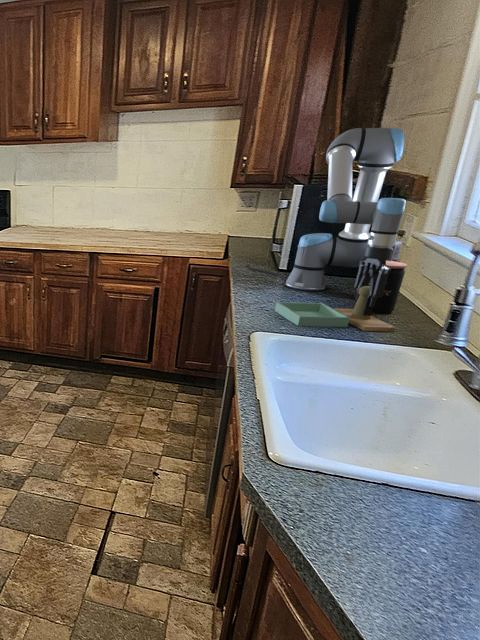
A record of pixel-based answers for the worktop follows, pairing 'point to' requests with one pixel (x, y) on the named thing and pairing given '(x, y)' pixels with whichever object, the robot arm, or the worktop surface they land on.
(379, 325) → the board
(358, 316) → the olive pepper mill
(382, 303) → the coffee jar
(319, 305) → the green tray
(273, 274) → the robot arm
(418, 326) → the worktop surface
